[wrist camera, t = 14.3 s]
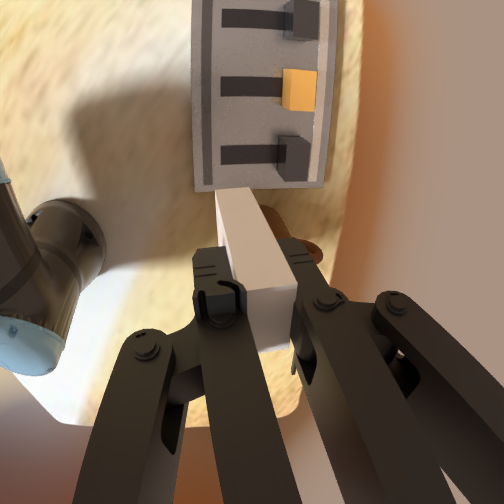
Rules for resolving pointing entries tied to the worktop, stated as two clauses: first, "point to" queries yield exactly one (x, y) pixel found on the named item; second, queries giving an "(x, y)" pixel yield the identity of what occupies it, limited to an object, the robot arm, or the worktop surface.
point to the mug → (282, 232)
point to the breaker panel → (259, 92)
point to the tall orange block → (299, 90)
